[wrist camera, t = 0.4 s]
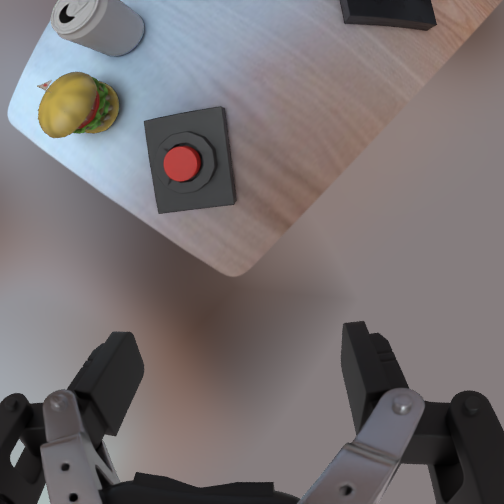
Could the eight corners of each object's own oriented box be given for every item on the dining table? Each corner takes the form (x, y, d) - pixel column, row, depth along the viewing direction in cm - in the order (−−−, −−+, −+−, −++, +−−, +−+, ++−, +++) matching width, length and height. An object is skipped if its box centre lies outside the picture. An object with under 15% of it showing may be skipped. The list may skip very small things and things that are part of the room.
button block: (150, 121, 35) (137, 120, 31) (224, 107, 34) (219, 104, 30) (164, 209, 39) (153, 217, 35) (236, 200, 38) (232, 208, 34)
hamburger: (87, 145, 36) (28, 154, 25) (70, 99, 34) (10, 95, 23) (135, 116, 35) (83, 113, 23) (116, 68, 32) (62, 51, 21)
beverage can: (94, 32, 31) (40, 10, 19) (135, 4, 29) (90, -31, 18) (111, 67, 32) (57, 50, 21) (154, 38, 31) (110, 7, 20)
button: (166, 148, 32) (160, 149, 31) (198, 143, 32) (194, 143, 30) (170, 181, 34) (166, 184, 32) (203, 176, 33) (199, 178, 32)
